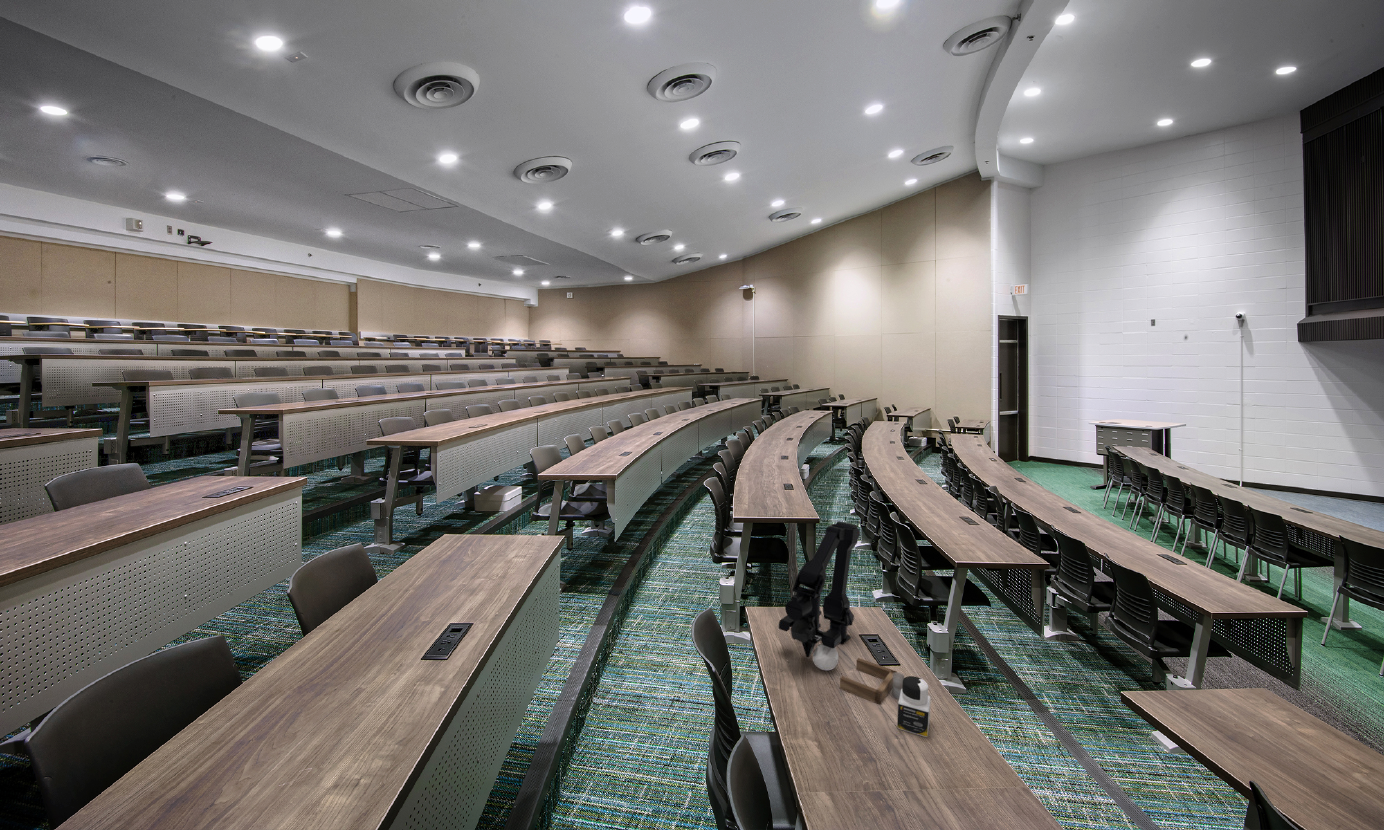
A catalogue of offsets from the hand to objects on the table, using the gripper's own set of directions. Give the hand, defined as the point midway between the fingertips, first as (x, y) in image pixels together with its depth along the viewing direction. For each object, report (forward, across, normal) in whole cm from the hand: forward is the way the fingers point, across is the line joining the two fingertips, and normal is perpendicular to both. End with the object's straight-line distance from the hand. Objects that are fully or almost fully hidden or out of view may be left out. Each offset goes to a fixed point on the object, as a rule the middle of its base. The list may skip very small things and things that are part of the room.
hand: (808, 656), depth 164 cm
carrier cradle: (+1, +21, 0) cm, 21 cm away
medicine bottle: (+2, +34, -10) cm, 36 cm away
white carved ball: (+2, +6, 0) cm, 6 cm away
